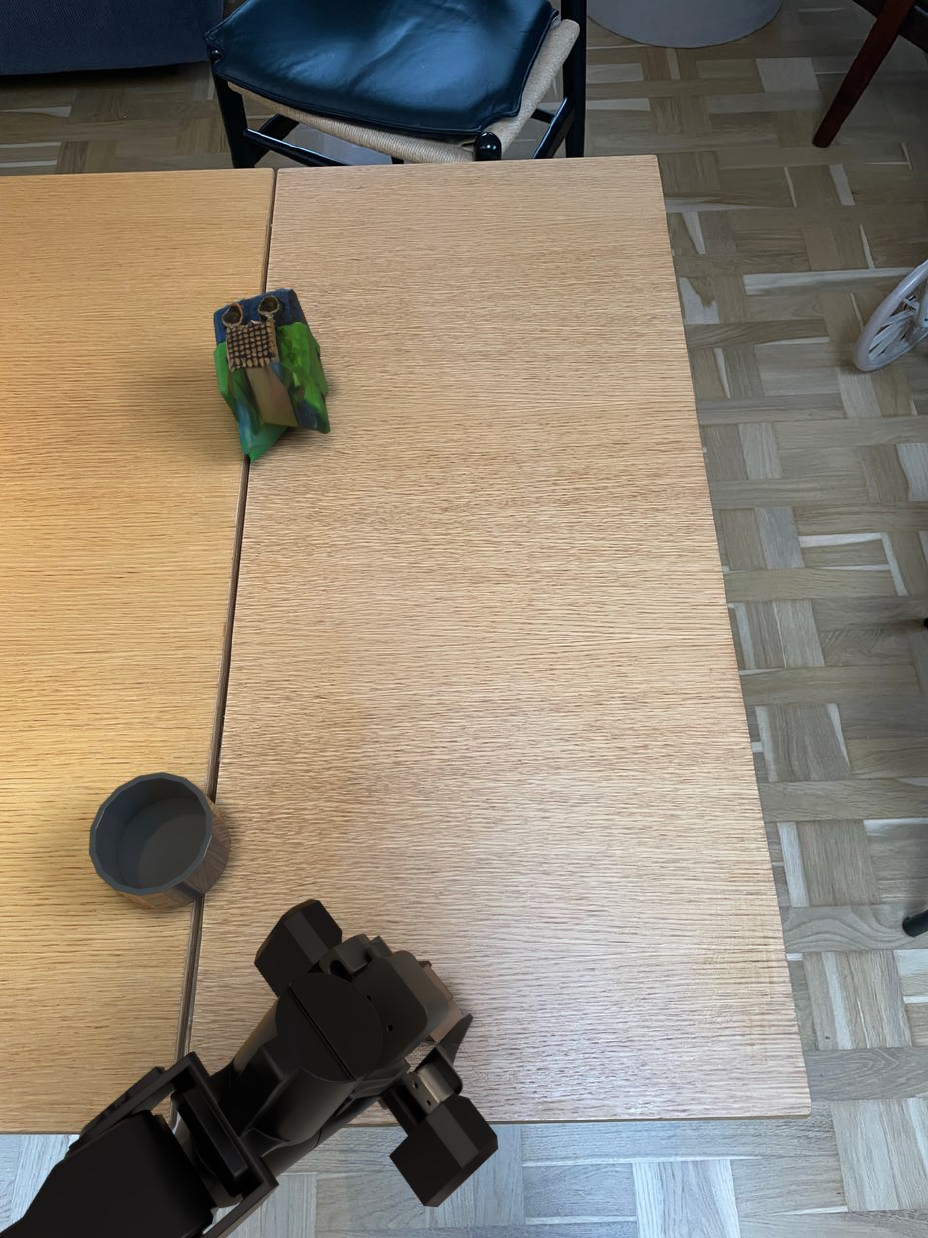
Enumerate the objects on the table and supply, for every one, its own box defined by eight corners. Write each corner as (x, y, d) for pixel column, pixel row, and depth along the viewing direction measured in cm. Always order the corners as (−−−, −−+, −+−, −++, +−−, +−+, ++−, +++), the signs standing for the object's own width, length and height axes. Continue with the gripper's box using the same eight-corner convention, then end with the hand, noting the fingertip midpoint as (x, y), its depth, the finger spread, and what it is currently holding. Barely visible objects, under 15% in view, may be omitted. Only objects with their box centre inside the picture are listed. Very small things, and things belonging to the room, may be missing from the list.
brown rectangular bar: (436, 1043, 72) (421, 1026, 60) (414, 1014, 73) (395, 991, 61) (463, 1018, 73) (453, 996, 61) (441, 990, 74) (427, 963, 62)
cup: (173, 934, 76) (149, 921, 72) (91, 862, 79) (63, 845, 75) (254, 837, 80) (237, 819, 75) (172, 772, 83) (151, 750, 78)
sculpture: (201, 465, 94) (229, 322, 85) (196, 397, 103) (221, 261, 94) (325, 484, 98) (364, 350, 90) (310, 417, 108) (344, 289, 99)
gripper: (465, 1181, 48) (610, 1040, 60) (250, 885, 55) (420, 814, 67) (359, 1283, 52) (514, 1133, 65) (174, 999, 59) (346, 913, 72)
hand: (448, 992), depth 67 cm, fingers open, 4 cm apart
